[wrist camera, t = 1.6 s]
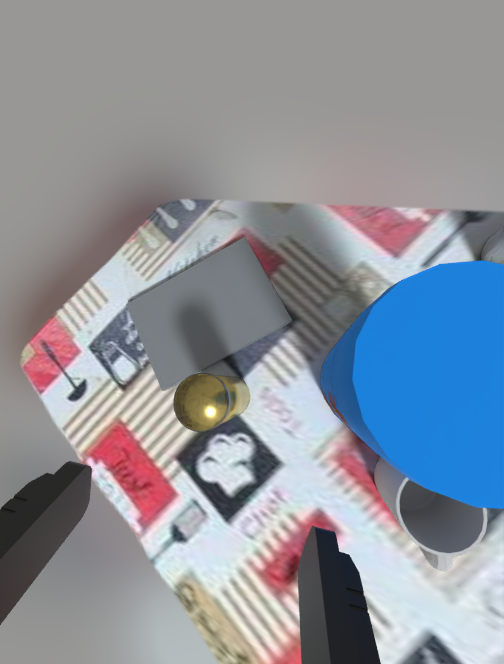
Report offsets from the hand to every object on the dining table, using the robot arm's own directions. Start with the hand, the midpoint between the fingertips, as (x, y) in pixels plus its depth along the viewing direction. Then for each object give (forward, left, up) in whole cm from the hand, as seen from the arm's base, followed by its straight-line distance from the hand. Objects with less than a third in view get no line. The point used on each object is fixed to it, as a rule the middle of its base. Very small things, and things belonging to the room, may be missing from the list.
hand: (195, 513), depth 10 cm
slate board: (+2, -17, -28) cm, 33 cm away
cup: (-10, +14, -28) cm, 33 cm away
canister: (+4, -5, -28) cm, 29 cm away
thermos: (-12, +1, -28) cm, 31 cm away
